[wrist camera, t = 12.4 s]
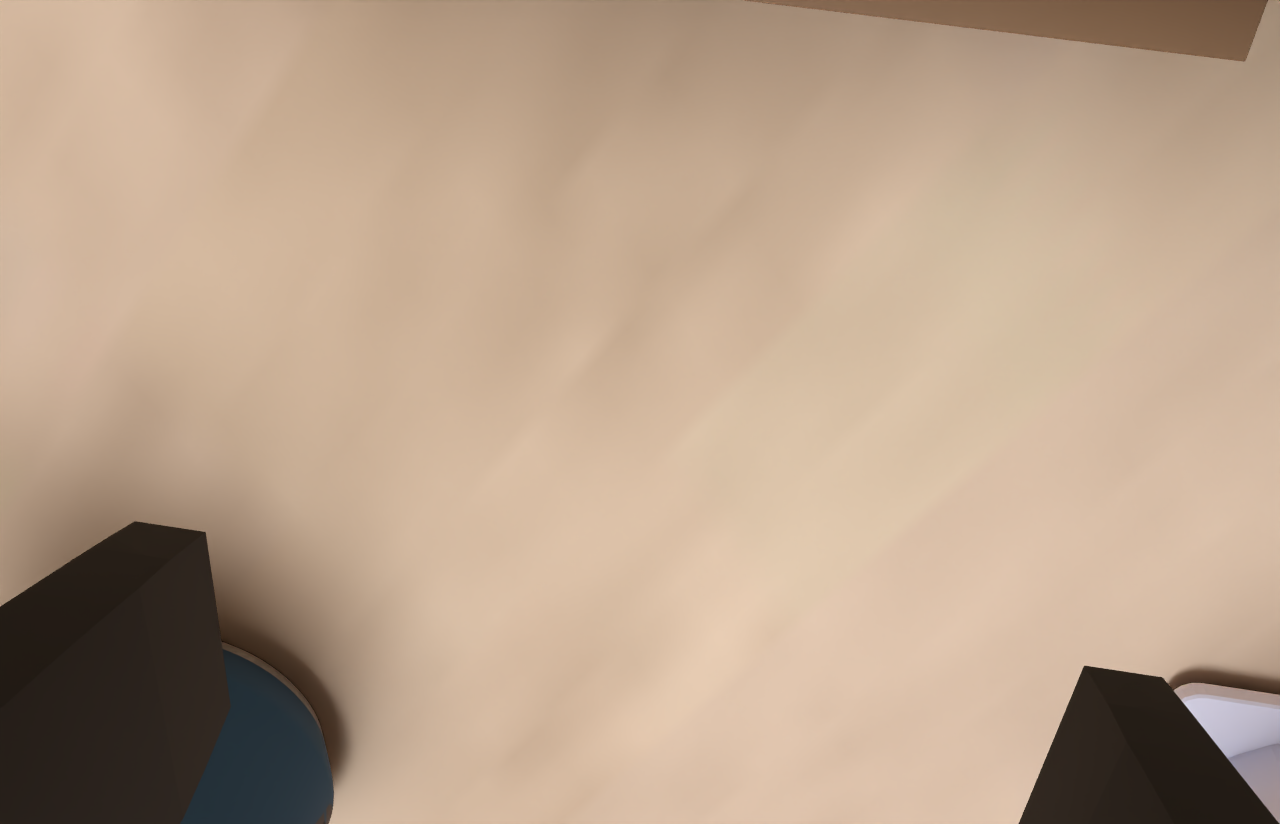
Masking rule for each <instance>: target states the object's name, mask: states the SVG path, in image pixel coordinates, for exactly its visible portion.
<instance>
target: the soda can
mask: <svg viewBox="0 0 1280 824" xmlns="http://www.w3.org/2000/svg"><path fill="white" fill-rule="evenodd" d="M222 649H223V656H224V663H225V670H226V677H227V684H228V691H229V698H230V705H231V707H230V710H229V712H228V715H227V717H226V720H225V722H224V724H223V727H222V729H221V732H220V734H219V737H218V739H217V742H216V744H215V746H214V749H213V751H212V754H211V756H210V759H209V761H208V763H207V766H206V768H205V770H204V773H203V775H202V777H201V779H200V782H199V784H198V786H197V788H196V791H195V793H194V795H193V797H192V800H191V802H190V804H189V806H188V809H187V811H186V813H185V815H184V818H183V820H182V821H181V823H180V824H328V823H329V821H330V818H331V814H332V809H333V798H334V790H333V779H332V773H331V768H330V763H329V758H328V754H327V749H326V745H325V741H324V737H323V733H322V729H321V726H320V723H319V721H318V718H317V716H316V714H315V712H314V710H313V709H312V707H311V705H310V704H309V703H308V701H307V700H306V698H305V697H304V696H303V695H302V693H301V692H300V691H299V690H298V689H297V688H296V687H295V686H294V685H293V684H292V683H291V682H290V681H289V680H288V679H287V678H286V677H285V676H283V675H282V674H281V673H280V672H278V671H277V670H276V669H274V668H273V667H272V666H270V665H269V664H267V663H266V662H264V661H262V660H261V659H259V658H257V657H256V656H254V655H252V654H250V653H248V652H246V651H244V650H241V649H239V648H237V647H234V646H232V645H229V644H227V643H224V642H222Z"/></svg>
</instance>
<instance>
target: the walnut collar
mask: <svg viewBox="0 0 1280 824" xmlns="http://www.w3.org/2000/svg"><path fill="white" fill-rule="evenodd" d="M745 1H754V2H762V3H770V4H778V5H786V6H794V7H803V8H811V9H819V10H827V11H835V12H844V13H852V14H860V15H868V16H876V17H884V18H893V19H901V20H909V21H917V22H925V23H934V24H942V25H950V26H958V27H966V28H975V29H983V30H991V31H999V32H1007V33H1015V34H1024V35H1032V36H1040V37H1048V38H1056V39H1065V40H1073V41H1081V42H1089V43H1097V44H1105V45H1114V46H1122V47H1130V48H1138V49H1146V50H1155V51H1163V52H1171V53H1179V54H1187V55H1195V56H1204V57H1212V58H1220V59H1228V60H1236V61H1245V60H1246V58H1247V55H1248V52H1249V50H1250V47H1251V44H1252V42H1253V39H1254V36H1255V33H1256V31H1257V28H1258V25H1259V23H1260V20H1261V17H1262V15H1263V12H1264V9H1265V7H1266V4H1267V1H1268V0H745Z"/></svg>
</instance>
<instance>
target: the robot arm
mask: <svg viewBox="0 0 1280 824" xmlns="http://www.w3.org/2000/svg"><path fill="white" fill-rule="evenodd" d="M230 707H231V705H230V698H229V691H228V684H227V677H226V670H225V663H224V656H223V649H222V642H221V636H220V629H219V622H218V615H217V608H216V601H215V594H214V587H213V580H212V574H211V567H210V560H209V553H208V546H207V539H206V532H201V531H194V530H188V529H181V528H175V527H168V526H161V525H155V524H148V523H142V522H133V523H132V524H130V525H128V526H127V527H125V528H123V529H122V530H120V531H118V532H116V533H115V534H113V535H111V536H110V537H108V538H107V539H105V540H103V541H102V542H100V543H98V544H97V545H95V546H94V547H92V548H91V549H89V550H87V551H86V552H84V553H83V554H81V555H80V556H78V557H76V558H75V559H73V560H72V561H70V562H69V563H67V564H66V565H64V566H62V567H61V568H59V569H58V570H56V571H55V572H53V573H52V574H50V575H49V576H47V577H45V578H44V579H42V580H41V581H39V582H38V583H36V584H35V585H33V586H32V587H30V588H28V589H27V590H25V591H24V592H22V593H21V594H19V595H18V596H16V597H15V598H13V599H11V600H10V601H8V602H7V603H5V604H4V605H2V606H1V607H0V824H180V823H181V821H182V820H183V818H184V815H185V813H186V811H187V809H188V806H189V804H190V802H191V800H192V797H193V795H194V793H195V791H196V788H197V786H198V784H199V782H200V779H201V777H202V775H203V773H204V770H205V768H206V766H207V763H208V761H209V759H210V756H211V754H212V751H213V749H214V746H215V744H216V742H217V739H218V737H219V734H220V732H221V729H222V727H223V724H224V722H225V720H226V717H227V715H228V712H229V710H230ZM1019 824H1280V695H1278V694H1271V693H1264V692H1258V691H1251V690H1245V689H1238V688H1231V687H1225V686H1218V685H1212V684H1205V683H1189V684H1185V685H1181V686H1180V687H1178V688H1176V689H1175V690H1172V688H1171V687H1170V686H1169V685H1168V684H1167V682H1166V681H1165V680H1164V679H1163V678H1162V677H1156V676H1149V675H1142V674H1136V673H1129V672H1123V671H1116V670H1109V669H1103V668H1096V667H1090V666H1084V668H1083V670H1082V672H1081V675H1080V677H1079V680H1078V682H1077V684H1076V687H1075V689H1074V692H1073V694H1072V697H1071V699H1070V701H1069V704H1068V706H1067V709H1066V711H1065V713H1064V716H1063V718H1062V721H1061V723H1060V725H1059V728H1058V730H1057V733H1056V735H1055V738H1054V740H1053V742H1052V745H1051V747H1050V750H1049V752H1048V754H1047V757H1046V759H1045V762H1044V764H1043V766H1042V769H1041V771H1040V774H1039V776H1038V779H1037V781H1036V783H1035V786H1034V788H1033V791H1032V793H1031V795H1030V798H1029V800H1028V803H1027V805H1026V807H1025V810H1024V812H1023V815H1022V817H1021V820H1020V822H1019Z"/></svg>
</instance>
